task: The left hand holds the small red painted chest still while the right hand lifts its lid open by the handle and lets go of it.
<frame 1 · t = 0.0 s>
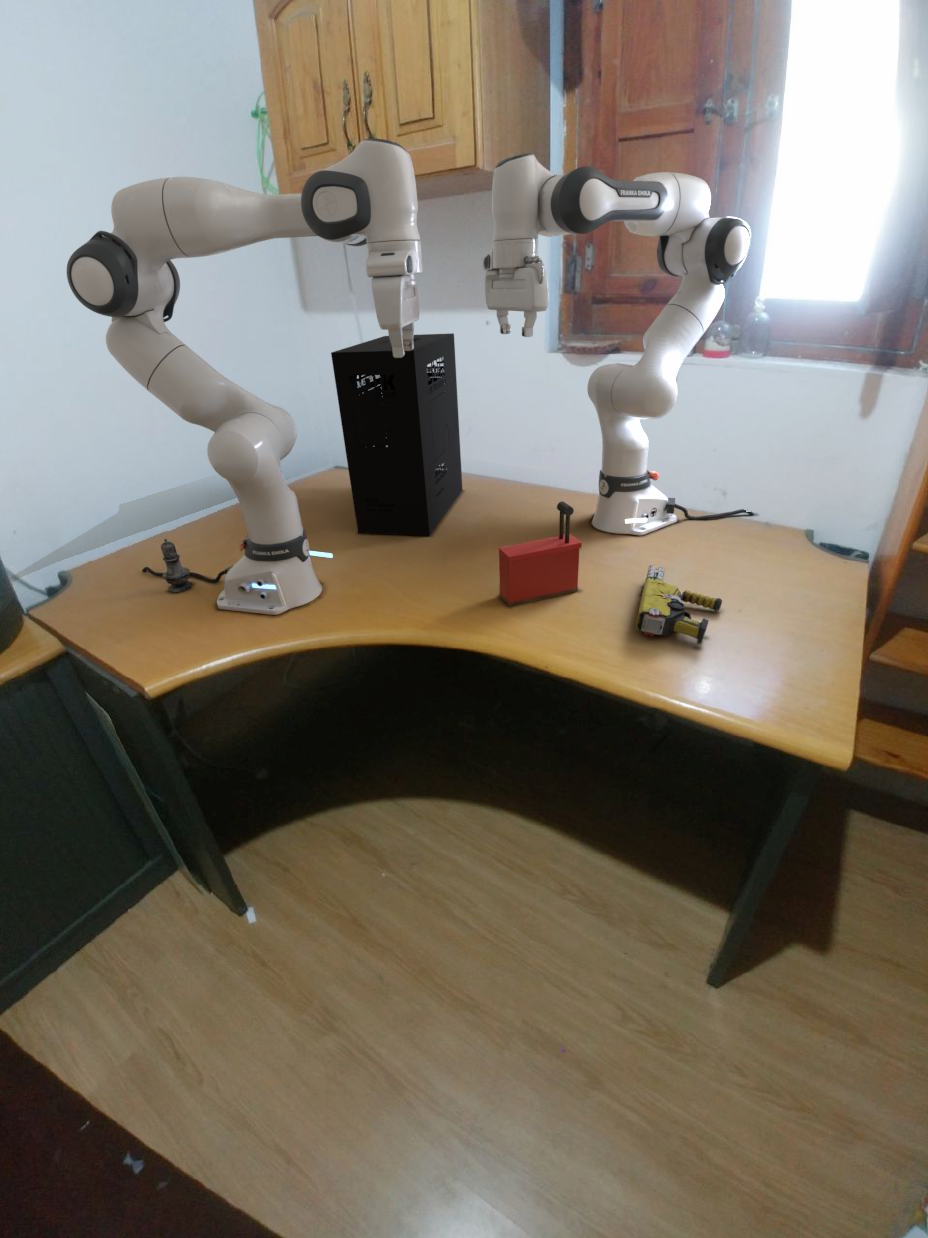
left hand: (404, 353, 106), 48 cm above the table, tool pointing down, fingers open, 8 cm apart
right hand: (516, 335, 125), 48 cm above the table, tool pointing down, fingers open, 8 cm apart
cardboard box: (414, 510, 177), on the table
salt shaker: (180, 587, 140), on the table
toy gun: (679, 613, 118), on the table
chest: (538, 593, 128), on the table
lid: (540, 529, 121), point 14 cm above the table, hinge at 0.0°
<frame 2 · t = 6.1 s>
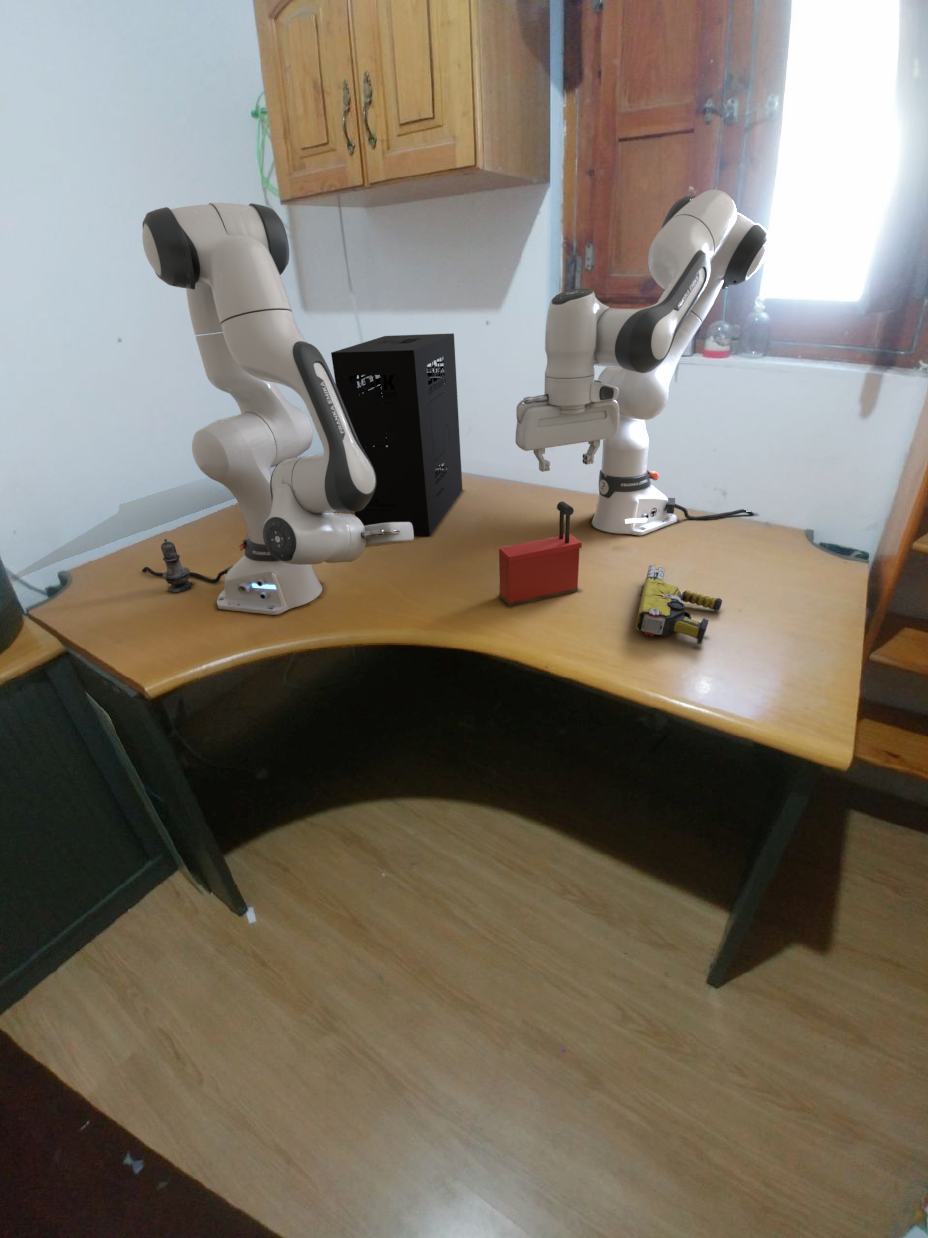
left hand: (386, 537, 122), 14 cm above the table, tool tilted 70°, fingers open, 8 cm apart
right hand: (566, 466, 116), 26 cm above the table, tool pointing down, fingers open, 8 cm apart
nothing on the table moved.
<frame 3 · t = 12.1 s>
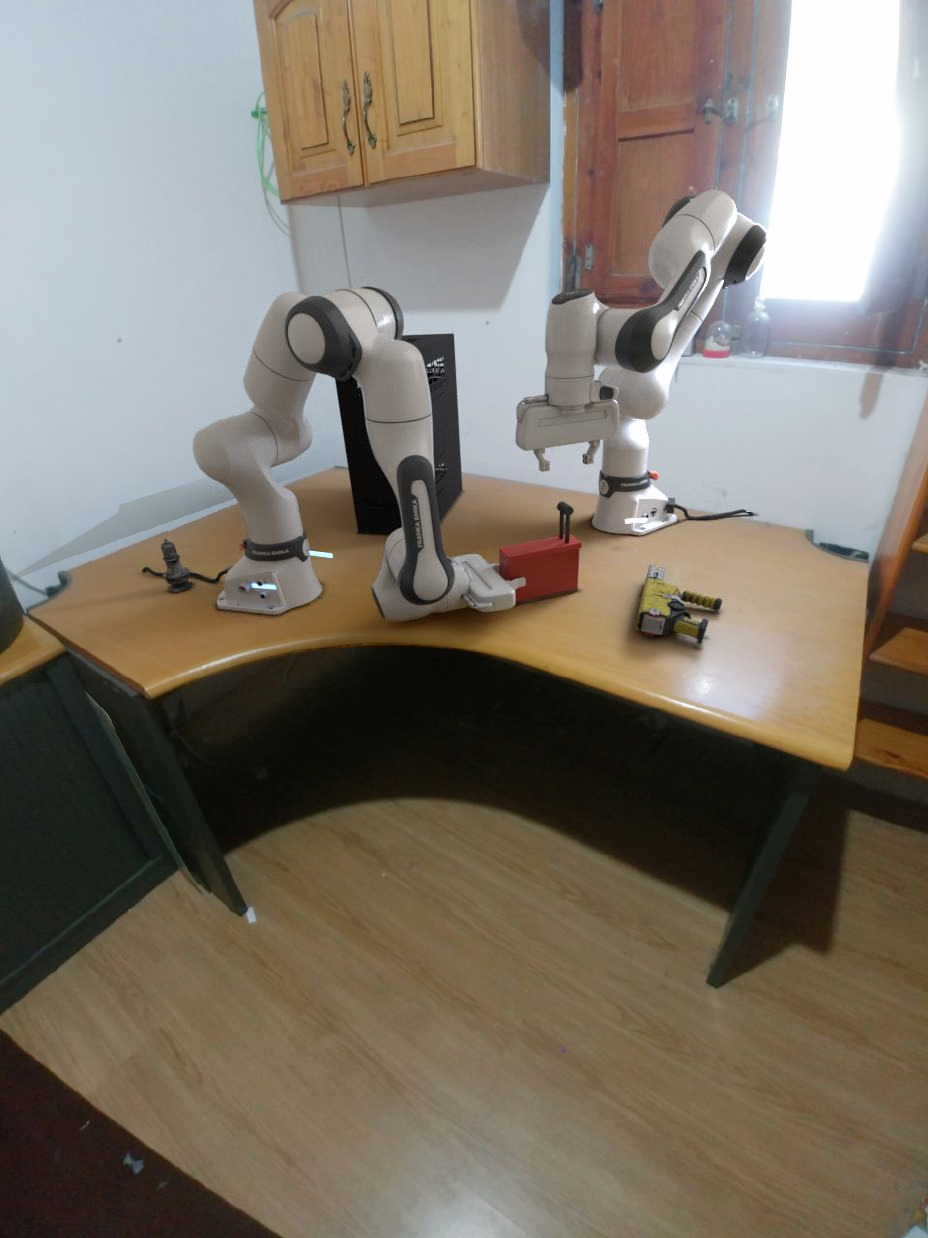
left hand: (517, 574, 124), 6 cm above the table, tool horizontal, fingers closed on chest, 5 cm apart
right hand: (566, 466, 116), 26 cm above the table, tool pointing down, fingers open, 8 cm apart
chest: (538, 593, 128), on the table, touching left hand
everything else where it was.
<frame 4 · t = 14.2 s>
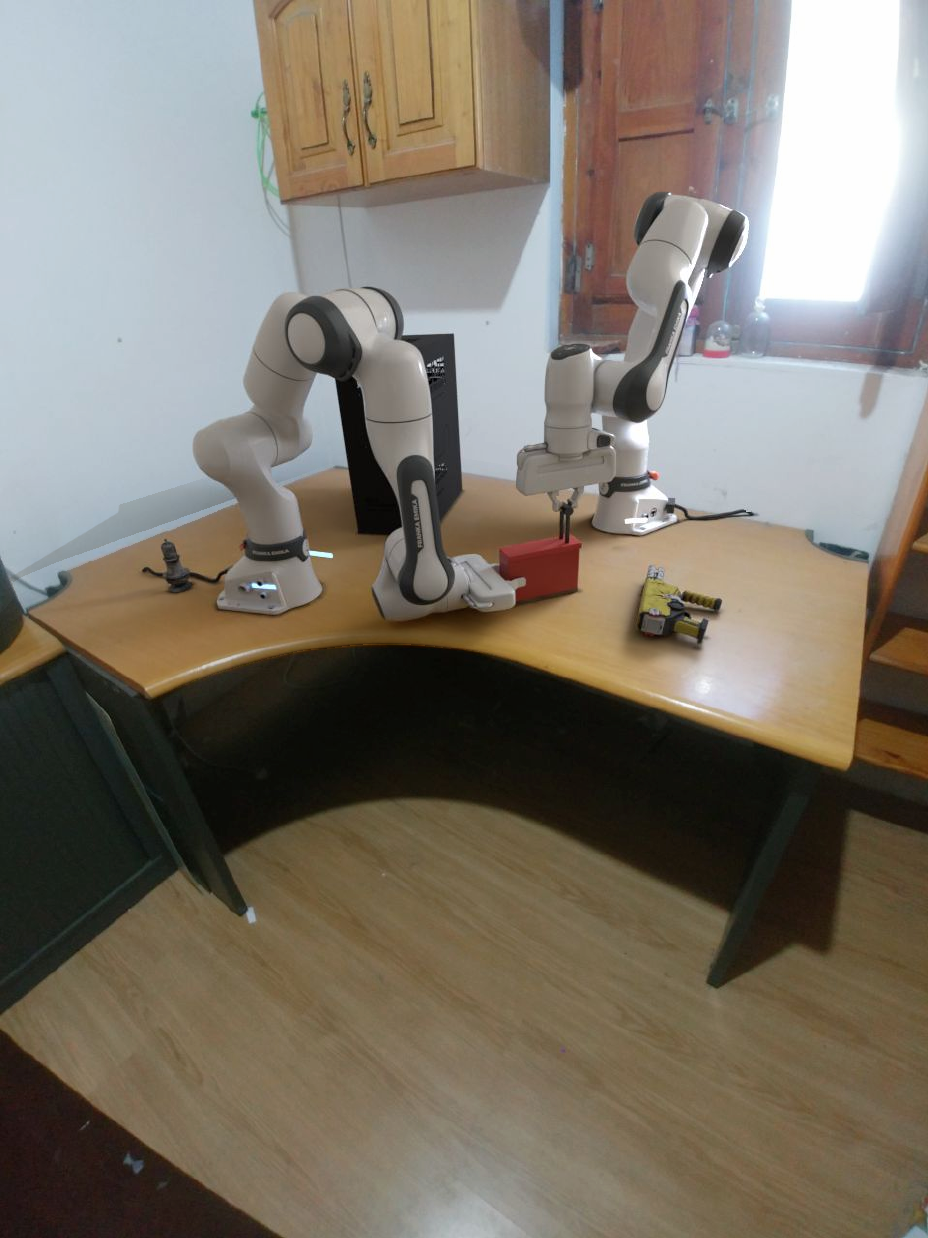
left hand: (517, 574, 124), 6 cm above the table, tool horizontal, fingers closed on chest, 5 cm apart
right hand: (565, 509, 121), 18 cm above the table, tool pointing down, fingers closed on lid, 2 cm apart
chest: (538, 593, 128), on the table, touching left hand
lid: (540, 529, 121), point 14 cm above the table, hinge at -0.1°, touching right hand
everything else where it was.
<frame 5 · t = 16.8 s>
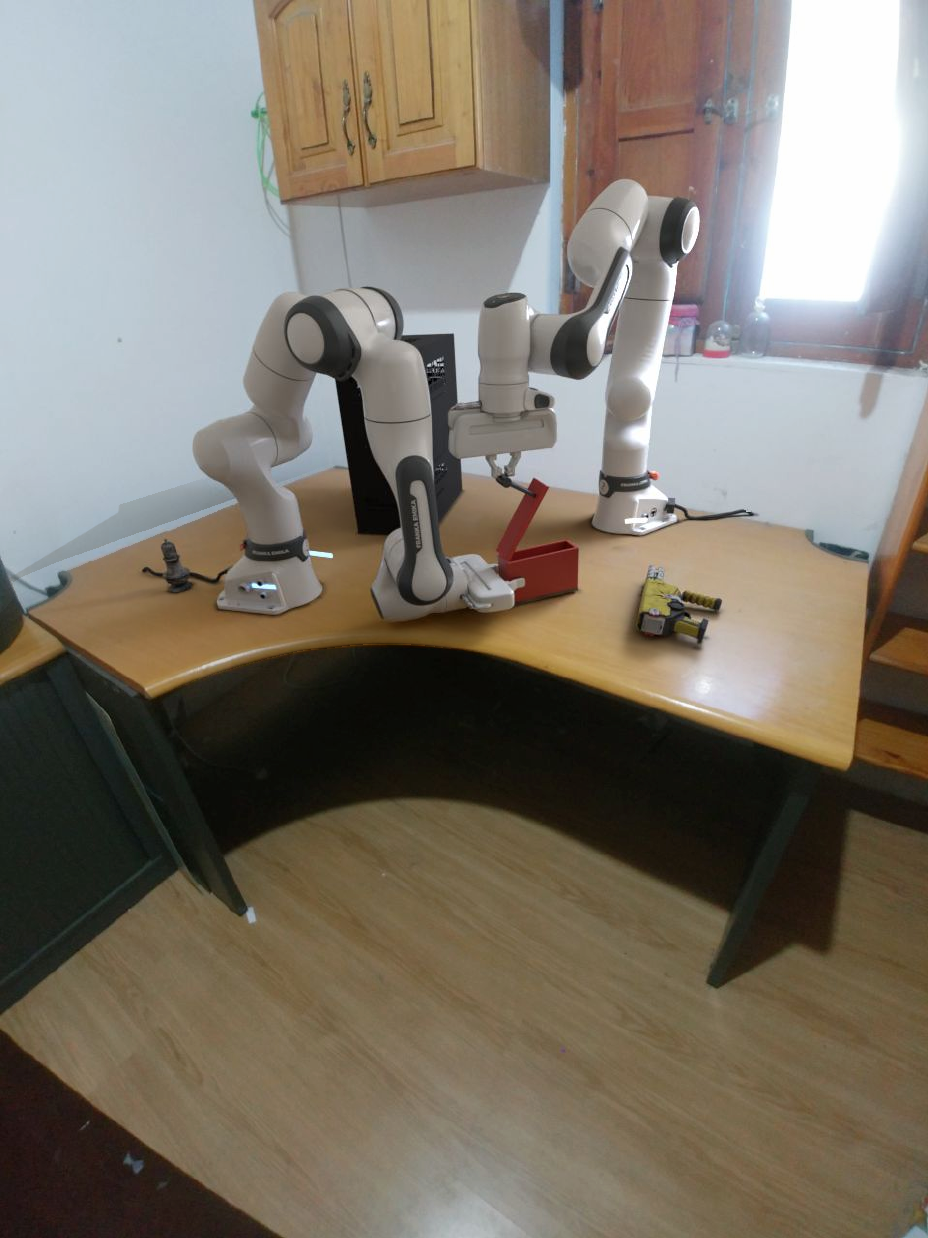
left hand: (516, 574, 124), 6 cm above the table, tool horizontal, fingers closed on chest, 5 cm apart
right hand: (503, 476, 112), 27 cm above the table, tool pointing down, fingers closed, pressing on lid
chest: (538, 593, 128), on the table, touching left hand
lid: (505, 512, 116), point 19 cm above the table, hinge at 57.2°, touching right hand
everything else where it was.
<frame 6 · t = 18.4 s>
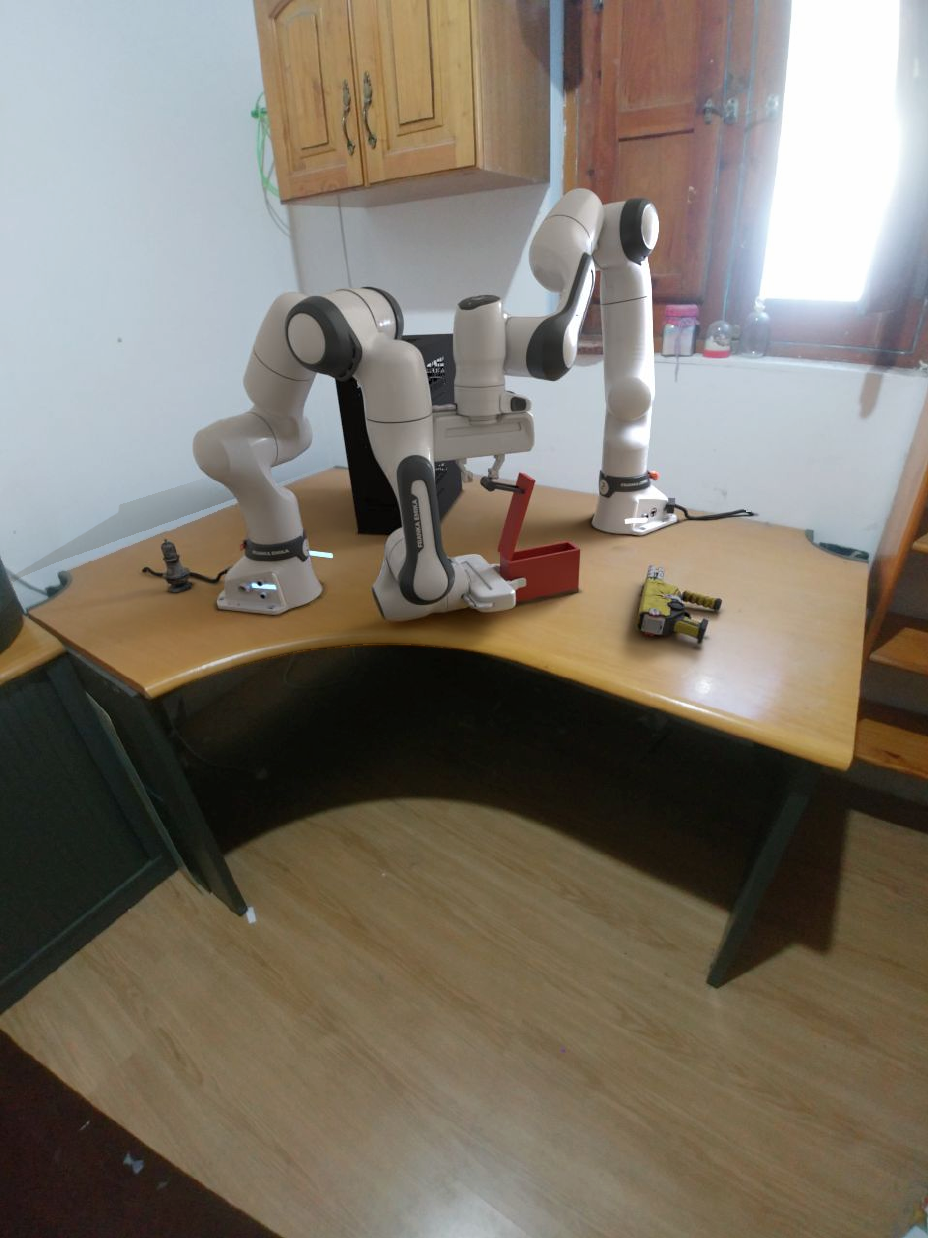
left hand: (518, 574, 124), 6 cm above the table, tool horizontal, fingers closed on chest, 5 cm apart
right hand: (480, 480, 111), 27 cm above the table, tool pointing down, fingers open, 4 cm apart
chest: (539, 594, 128), on the table, touching left hand
lid: (497, 514, 116), point 19 cm above the table, hinge at 71.9°, touching right hand
everything else where it was.
when the left hand's fingers open (6 cm above the table, at t = 21.4 s): chest stays where it is, on the table.
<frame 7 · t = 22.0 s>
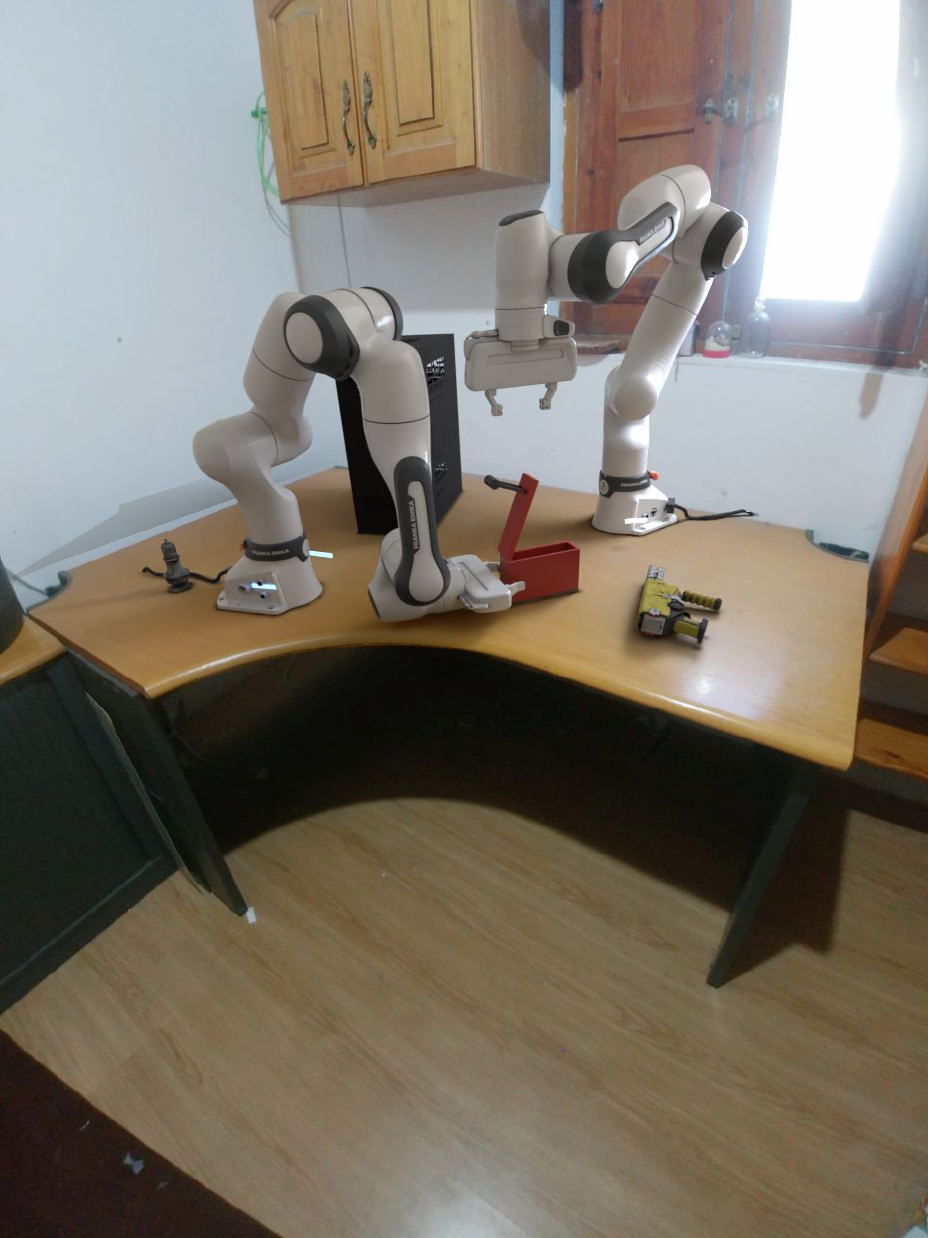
left hand: (513, 574, 124), 6 cm above the table, tool horizontal, fingers open, 8 cm apart
right hand: (521, 412, 108), 38 cm above the table, tool pointing down, fingers open, 8 cm apart
chest: (539, 593, 128), on the table
lid: (499, 513, 116), point 19 cm above the table, hinge at 69.0°
everything else where it was.
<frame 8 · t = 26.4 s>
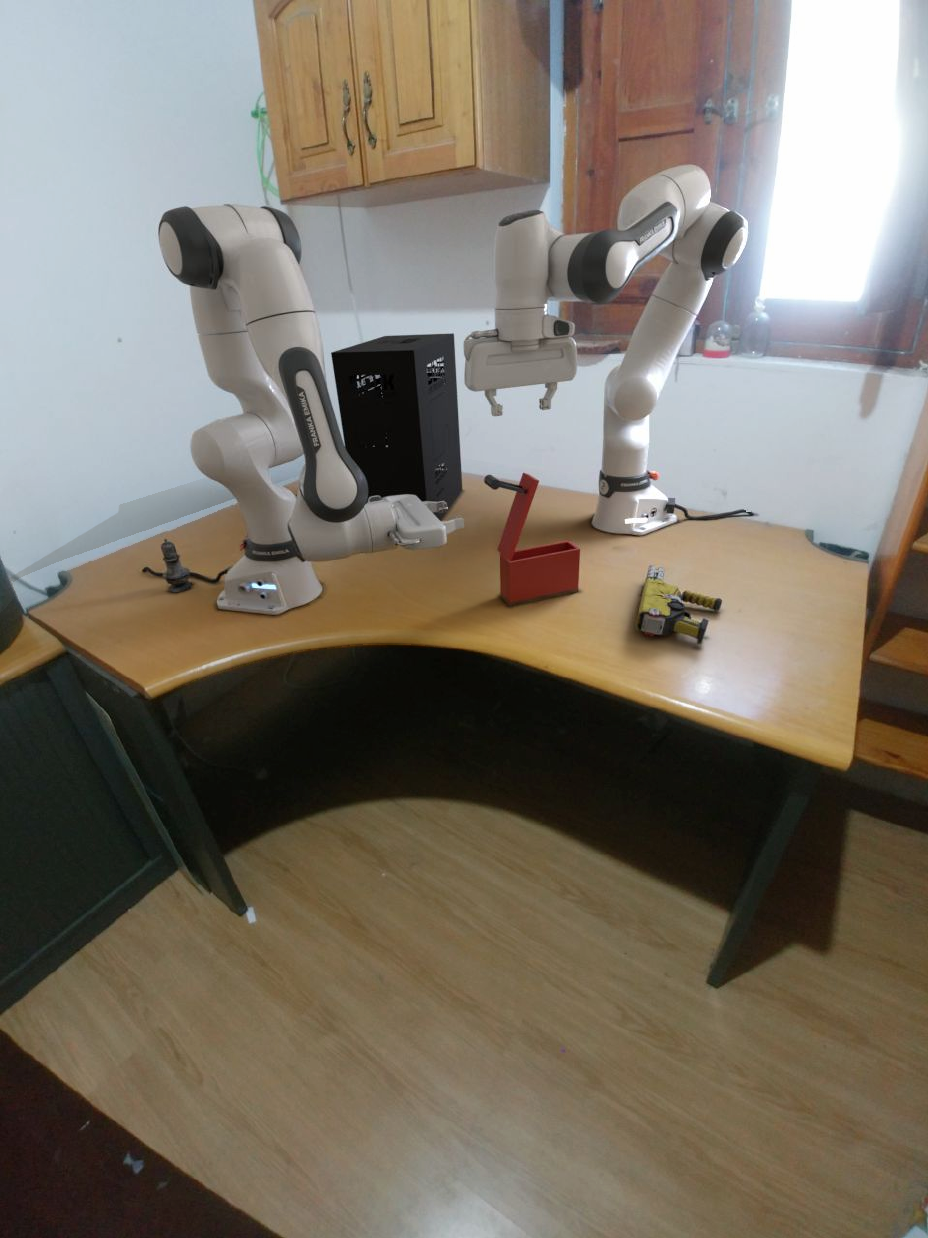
left hand: (454, 513, 113), 21 cm above the table, tool horizontal, fingers open, 8 cm apart
right hand: (521, 412, 108), 38 cm above the table, tool pointing down, fingers open, 8 cm apart
nothing on the table moved.
at the end: lid at +69° (first picture: +0°); the left hand is holding nothing; the right hand is holding nothing; chest tilted 0°; chest never tilted more than 2° during the clip; chest moved 0.1 cm from its start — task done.
